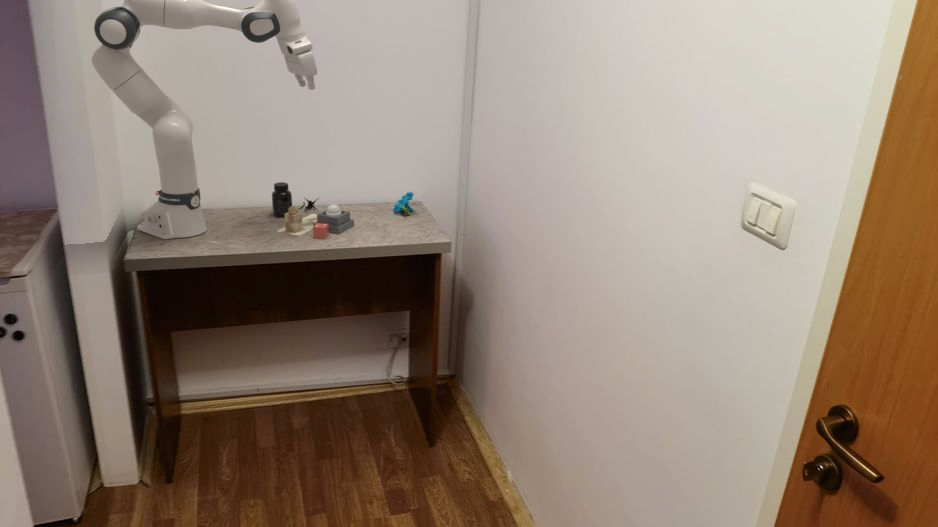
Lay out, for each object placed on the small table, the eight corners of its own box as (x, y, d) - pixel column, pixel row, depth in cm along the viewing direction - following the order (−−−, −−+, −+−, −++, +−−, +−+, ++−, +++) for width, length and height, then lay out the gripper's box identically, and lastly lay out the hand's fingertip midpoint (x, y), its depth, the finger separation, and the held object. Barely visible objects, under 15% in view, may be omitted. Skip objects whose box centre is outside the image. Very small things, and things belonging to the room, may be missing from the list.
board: (275, 233, 239) (275, 230, 239) (310, 215, 257) (310, 213, 257) (326, 243, 233) (326, 241, 232) (359, 224, 251) (359, 222, 250)
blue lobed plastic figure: (392, 202, 270) (411, 186, 267) (403, 213, 273) (422, 196, 270) (390, 215, 261) (410, 199, 258) (402, 226, 263) (421, 209, 260)
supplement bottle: (271, 214, 257) (269, 181, 252) (290, 212, 259) (289, 180, 255) (274, 220, 251) (272, 187, 246) (294, 218, 253) (292, 186, 249)
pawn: (285, 231, 239) (284, 206, 236) (292, 227, 243) (291, 203, 239) (295, 233, 238) (294, 208, 235) (302, 229, 241) (301, 205, 238)
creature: (316, 218, 258) (322, 207, 265) (315, 205, 255) (321, 194, 262) (295, 217, 259) (302, 205, 265) (293, 204, 256) (300, 193, 262)
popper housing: (313, 231, 242) (312, 214, 240) (329, 222, 251) (328, 206, 249) (338, 236, 239) (338, 219, 237) (354, 227, 248) (353, 211, 245)
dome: (323, 218, 242) (322, 205, 240) (331, 214, 246) (330, 201, 245) (336, 221, 240) (335, 207, 238) (344, 217, 245) (344, 203, 243)
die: (313, 238, 235) (313, 226, 233) (317, 234, 238) (316, 222, 237) (325, 239, 234) (324, 227, 233) (328, 235, 238) (328, 223, 236)
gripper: (275, 45, 232) (289, 87, 238) (294, 49, 215) (308, 94, 221) (293, 40, 234) (306, 81, 240) (313, 43, 217) (327, 87, 224)
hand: (307, 87), depth 231 cm, fingers open, 8 cm apart
